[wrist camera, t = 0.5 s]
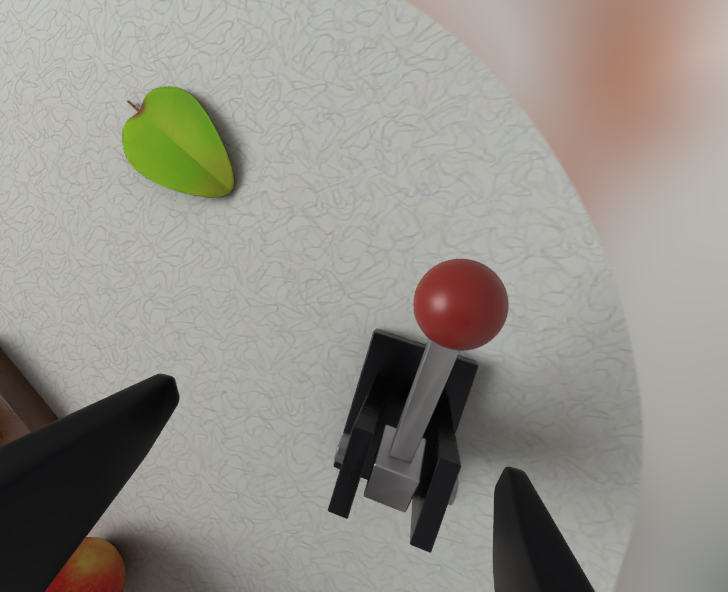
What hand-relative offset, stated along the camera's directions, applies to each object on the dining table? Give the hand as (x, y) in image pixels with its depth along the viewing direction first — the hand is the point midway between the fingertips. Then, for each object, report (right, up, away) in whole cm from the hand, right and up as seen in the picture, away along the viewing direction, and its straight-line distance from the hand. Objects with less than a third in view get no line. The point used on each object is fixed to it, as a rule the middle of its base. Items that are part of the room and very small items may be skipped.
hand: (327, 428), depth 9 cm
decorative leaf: (-12, +15, +17) cm, 25 cm away
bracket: (+4, -5, +15) cm, 16 cm away
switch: (+4, 0, +7) cm, 8 cm away
